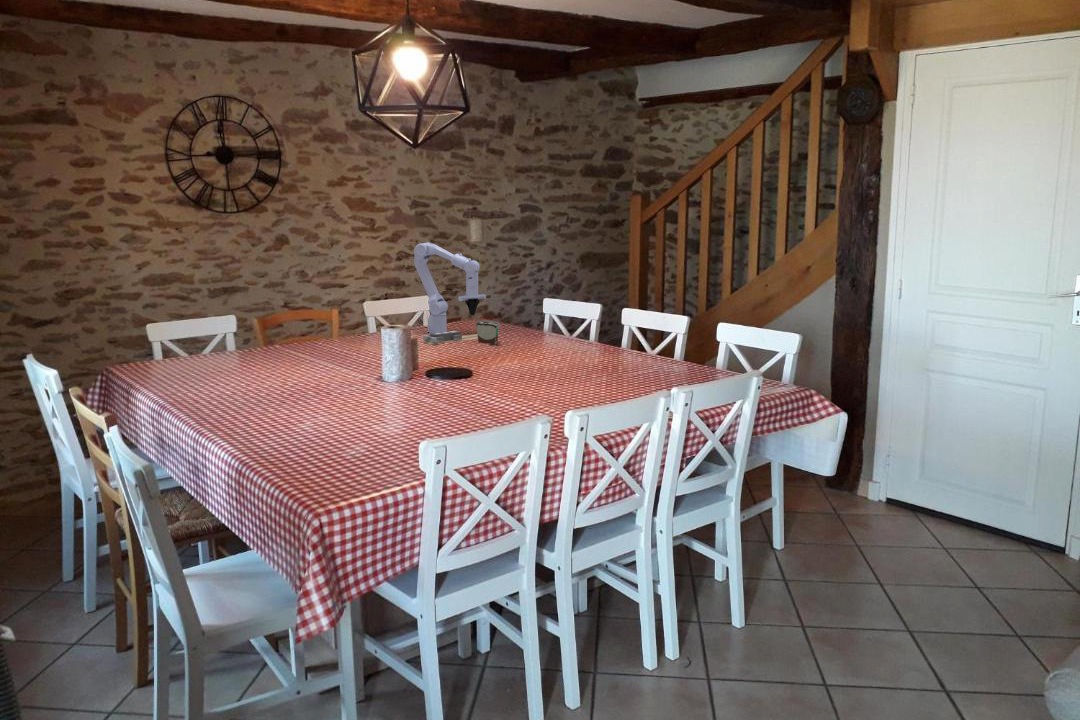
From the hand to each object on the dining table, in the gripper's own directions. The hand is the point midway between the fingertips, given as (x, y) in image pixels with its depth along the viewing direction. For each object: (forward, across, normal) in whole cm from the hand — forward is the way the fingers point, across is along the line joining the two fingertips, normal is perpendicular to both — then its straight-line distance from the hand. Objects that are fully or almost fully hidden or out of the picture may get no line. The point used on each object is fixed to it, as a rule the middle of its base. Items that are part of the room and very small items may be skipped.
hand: (472, 314), depth 398 cm
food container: (+10, -5, -22) cm, 25 cm away
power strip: (+9, -19, -6) cm, 22 cm away
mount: (+10, -12, -6) cm, 17 cm away
